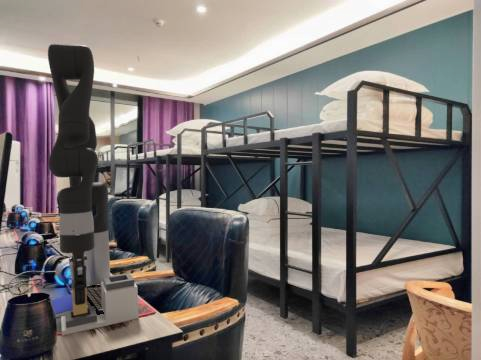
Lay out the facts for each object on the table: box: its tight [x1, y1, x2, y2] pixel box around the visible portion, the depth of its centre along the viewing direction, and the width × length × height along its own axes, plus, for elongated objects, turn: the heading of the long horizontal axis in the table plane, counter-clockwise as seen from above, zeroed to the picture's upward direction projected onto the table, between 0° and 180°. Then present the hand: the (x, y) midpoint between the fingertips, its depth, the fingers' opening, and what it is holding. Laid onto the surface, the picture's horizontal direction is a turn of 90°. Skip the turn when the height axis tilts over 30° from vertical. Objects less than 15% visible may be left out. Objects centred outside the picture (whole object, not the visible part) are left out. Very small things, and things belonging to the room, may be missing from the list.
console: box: [60, 272, 140, 336], centre depth 85 cm, size 9×17×10 cm, turn 118°
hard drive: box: [50, 293, 73, 318], centre depth 95 cm, size 2×8×12 cm
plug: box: [71, 279, 88, 315], centre depth 83 cm, size 3×3×8 cm
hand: (79, 301), depth 83 cm, fingers closed on plug, 3 cm apart
